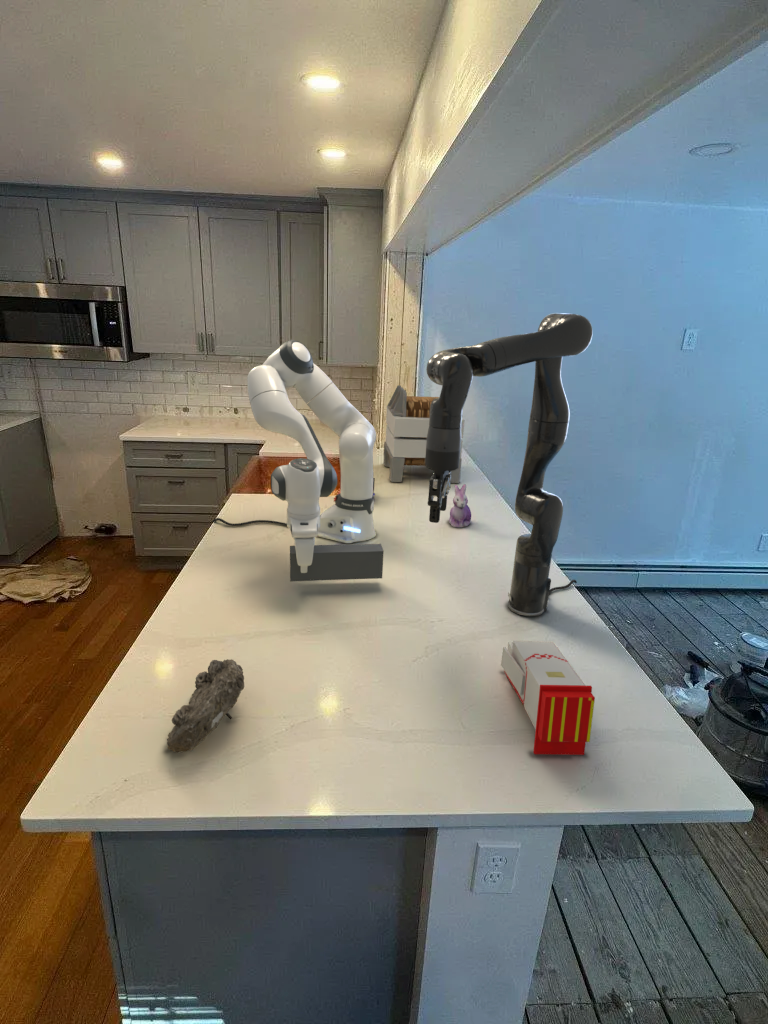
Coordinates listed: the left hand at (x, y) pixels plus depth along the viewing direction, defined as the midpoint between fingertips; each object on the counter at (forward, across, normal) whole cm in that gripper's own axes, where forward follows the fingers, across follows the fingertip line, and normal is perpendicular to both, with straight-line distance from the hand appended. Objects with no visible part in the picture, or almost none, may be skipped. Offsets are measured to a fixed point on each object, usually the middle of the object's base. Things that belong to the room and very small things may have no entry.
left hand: (303, 566), depth 157 cm
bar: (+3, 0, +9) cm, 10 cm away
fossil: (+7, +52, -19) cm, 55 cm away
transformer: (+6, -115, +59) cm, 129 cm away
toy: (+6, +55, +46) cm, 72 cm away
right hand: (-24, +26, +30) cm, 46 cm away
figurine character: (+6, -77, +28) cm, 82 cm away
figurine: (+6, -46, +59) cm, 76 cm away
